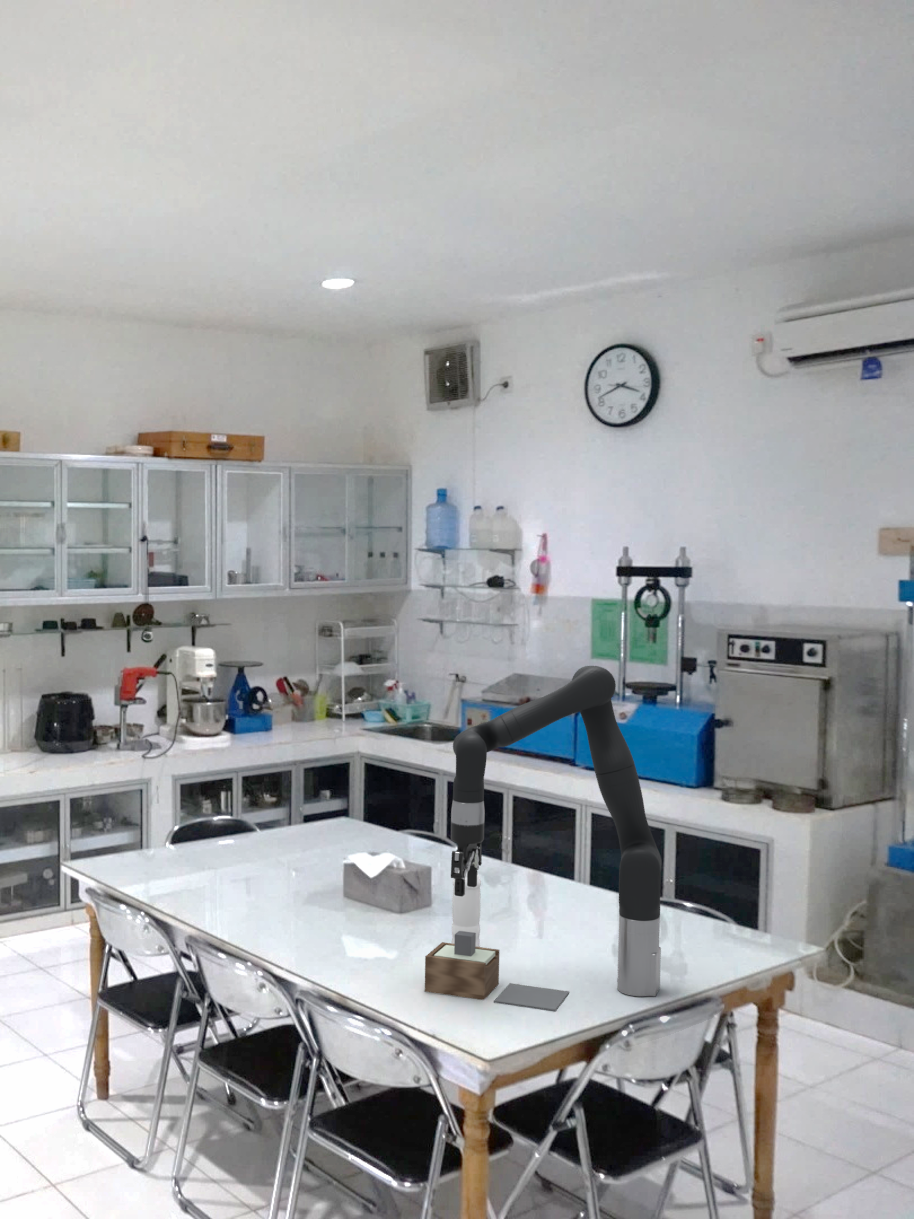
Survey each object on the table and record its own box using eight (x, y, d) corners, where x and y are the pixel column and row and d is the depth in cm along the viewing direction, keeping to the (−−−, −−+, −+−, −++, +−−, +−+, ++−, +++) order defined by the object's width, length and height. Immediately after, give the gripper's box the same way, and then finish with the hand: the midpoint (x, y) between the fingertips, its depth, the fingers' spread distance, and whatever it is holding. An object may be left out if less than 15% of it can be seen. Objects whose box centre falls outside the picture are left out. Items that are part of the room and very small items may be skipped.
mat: (569, 993, 276) (569, 991, 276) (555, 1011, 264) (555, 1009, 264) (509, 984, 280) (509, 983, 280) (493, 1002, 269) (493, 1000, 269)
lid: (495, 955, 279) (495, 931, 279) (484, 966, 272) (484, 942, 271) (445, 949, 283) (446, 925, 283) (433, 959, 276) (434, 935, 275)
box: (498, 984, 281) (499, 949, 280) (483, 1000, 270) (484, 964, 270) (441, 975, 285) (442, 942, 285) (424, 991, 275) (425, 956, 275)
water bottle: (455, 957, 298) (457, 856, 297) (447, 948, 305) (449, 849, 304) (483, 955, 300) (485, 854, 299) (474, 946, 307) (476, 848, 306)
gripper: (473, 828, 268) (471, 901, 269) (493, 815, 281) (491, 885, 282) (441, 824, 271) (439, 897, 271) (462, 812, 284) (460, 881, 285)
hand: (465, 891), depth 277 cm, fingers open, 8 cm apart
